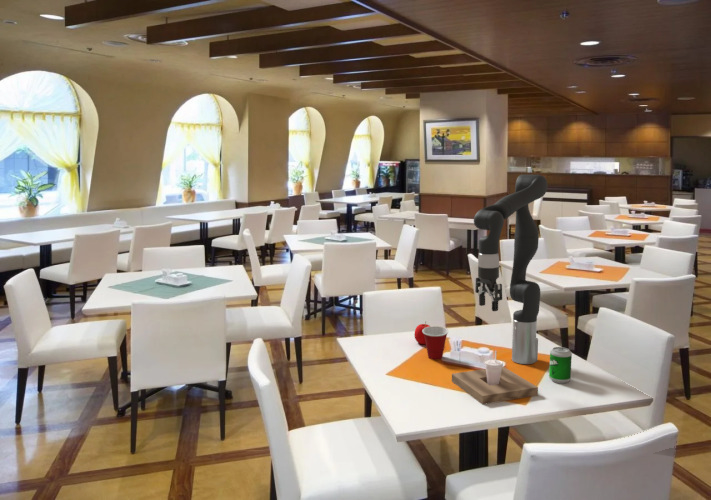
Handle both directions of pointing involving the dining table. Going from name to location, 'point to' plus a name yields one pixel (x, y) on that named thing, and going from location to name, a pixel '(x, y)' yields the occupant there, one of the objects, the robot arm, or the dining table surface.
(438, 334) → the plastic cup
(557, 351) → the soda can
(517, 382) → the socket board
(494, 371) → the smoothie
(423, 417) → the dining table surface
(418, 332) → the fruit
